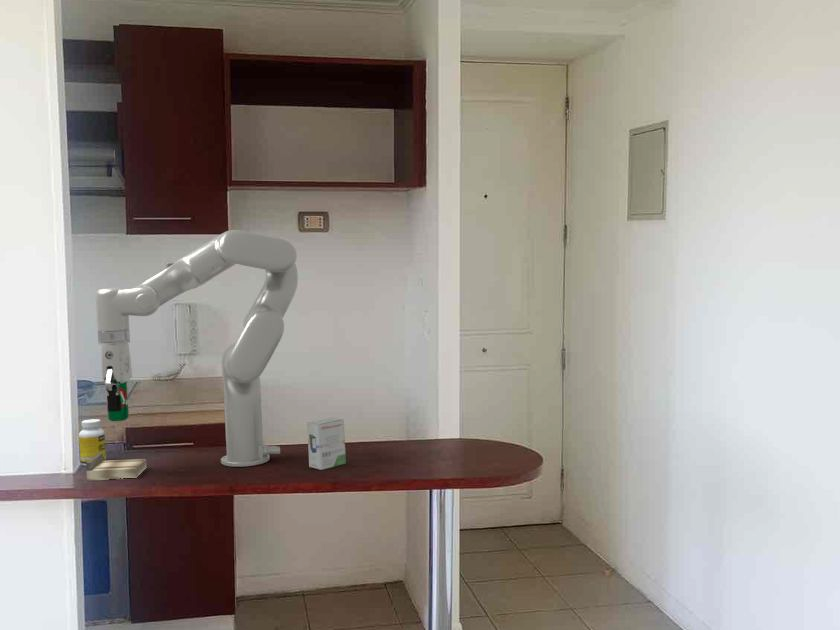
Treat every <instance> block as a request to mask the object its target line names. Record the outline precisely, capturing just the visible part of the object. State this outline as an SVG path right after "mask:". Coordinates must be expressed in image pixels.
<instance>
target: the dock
mask: <svg viewBox="0 0 840 630" xmlns="http://www.w3.org/2000/svg"><path fill="white" fill-rule="evenodd" d="M146 468H147V458H140V459H139V458H137V459H116V460H113V459H112V460H106V461H103V453H98V454H97V455H96V456H94V457H93V458H92V459H90V460H89V461H88V462H87V463H86V480H87V482H89V481H90V482H92V481H93V482H94V481H110V480H109V479H116V480H124V479H123V478H137V477H138V476H139V475H140V474H141V473H142V472H143V471H144V470H145V469H146ZM147 469H148V468H147ZM147 469H146V470H147ZM146 470H145V471H146ZM145 471H144V472H145ZM142 474H143V473H142ZM142 474H141V475H142ZM141 475H140V476H141ZM140 476H139V477H140ZM139 477H138V478H139ZM120 478H121V479H120ZM138 478H137V479H138Z"/></svg>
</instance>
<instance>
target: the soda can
mask: <svg viewBox="0 0 840 630" xmlns="http://www.w3.org/2000/svg"><path fill="white" fill-rule="evenodd" d="M112 383H117V381H112ZM115 389H116V386H115ZM105 392H106V396H107V390H106V389H105ZM119 395H121V411H115V412H109V411H108V405H107V404H106V410H107V420H109V422H123V421H126V420H128V419H129V417H130V413H129V412H130V411H129V394H128V381H126V382H124V383H120V382H119Z"/></svg>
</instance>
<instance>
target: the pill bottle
mask: <svg viewBox="0 0 840 630" xmlns="http://www.w3.org/2000/svg"><path fill="white" fill-rule="evenodd" d="M81 427H82V429H81V430H80V432H79V433H78V443H79V444H78V445H79V458H80V465H81V466H86V463H87V462H88V461H89V460H90V459H92V458H93V457H94V456H96V455H97V454H98V453H103V461H107V455H106V454H107V453H106V452H107V451H106V436H105V434H106V433H105V431H104V429H102V428H101V419H99V418H98V419H97V418H91V419H84V420H82V421H81Z"/></svg>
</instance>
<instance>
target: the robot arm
mask: <svg viewBox="0 0 840 630" xmlns="http://www.w3.org/2000/svg"><path fill="white" fill-rule="evenodd" d="M297 258H298V257H297V250H296V248H295V247H294V245H293V244H292V243H291V242H290V241H288V240H287V239H283V238H279V237H273V236H268V235H262V234H257V233H252V232H248V231H243V230H239V229H231V230H227V231H224V232H222V233H220V234H219V235H217V236H215V237H214V238H212V239H210V240H209V241H208V242H206V243H204V244H202V245H200V246H199V247H198V248H196V249H194V250H193V251H190V252H189V253H187V254H185V255H184V256H183V257H181V258H179V259H178V260H176V261H175V262H174V263H172V264H171V265H169V266H168V267H167V268H165V269H163V271H160V272H159V273H157V274H156V275H154V276H152V277H150V278H149V279H147V280H145V281H144V282H142V283H140V284H139V285H137V286H135V287H133V288H123V287H110V288H109V287H105V288H100V289H98V290H97V291H96V292H95V309H96V323H97V325H96V326H97V327H96V328H97V341H98V343H97V344H98V345H101V375H102V382H103V383H104V384H105V391H106V390H107V395H106V406H107V405H108V411H109V412H115V411H121V395H119V382H120V383H124V382H126V381H127V382H128V381H129V380H131V378H133V370H132V359H131V354H130V353H131V351H130V345H129V343H130V342H131V337H130V333H131V332H130V331H131V330H130V319H129V318H130V316H133V317H134V316H135V317H149V316H152V315H154V314H155V313H156V312H157V311H158V309H159V308H160V307H162V306H163V305H165V304H166V303H168V302H169V301H172V299H174V298H176V297H178V296H180V295H182V294H183V293H186V292H188V291H191V290H194V289H197V288H198V287H201V286H203V285H205V284H206V283H208V282H209V281H211V280H213V278H215V277H218V276H219V275H220V274H222V273H224V272H225V271H227V270H228V269H230V268H232V267H233V266H235V265H240V266H243V267H244V266H245V267H250V268H255V269H261V270H265V280H264V283H263V285H262V286H261V289H260V291H259V293H258V295H257V297H256V298H255V300H254V302H253V304H252V305H251V307H250V309H249V310H248V312H247V314H245V317H244V319H243V324H242V325H243V326H242V327H243V330H242V331H241V334H240V335H239V336H238V339H237V340H236V342H233V343H231V344H229V345H228V346H227V347H226V348H225V349H224V351H223V353H222V357H221V375H222V385H223V400H224V403H223V404H224V407H223V408H224V422H225V424H224V425H225V442H226V443H225V446H226V455H224V456H222V457H221V458H220V463H221V465H223V466H227V467H231V468H232V467H236V468H237V467H239V468H241V467H253V466H258V465H262V464H264V463H265V464H266V463H267V462H269V461H270V455H280V454H281V447H280V446H277V445H267V444H266V441H263V439H264V437H263V436H264V435H263V419H262V418H263V417H262V415H263V414H262V392H261V391H262V387H261V380H260V379H261V378H260V376H261V375H262V374H263V372H264V370H265V369H266V367H267V366H268V364H269V362H270V360H271V359H272V357H273V355H274V353H275V351H276V349H277V347H278V346H279V343H280V341H281V340H282V338H283V335H284V332H285V321H284V317H285V315H286V313H287V312H288V309H289V307H290V304H291V303H292V301H293V299H294V297H295V294H296V291H297V289H298V282H299V276H298V268H297V265H296V261H297ZM112 381H117V383H112ZM115 386H116V389H115Z"/></svg>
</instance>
